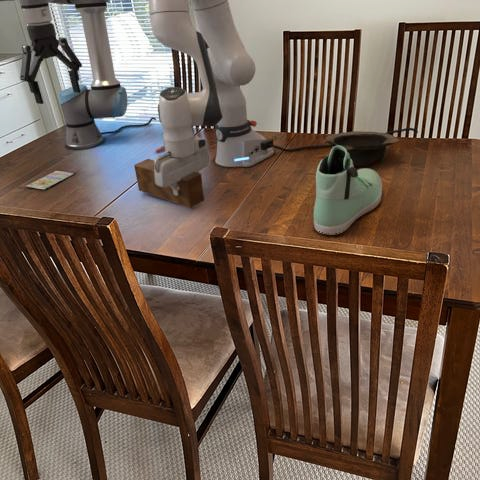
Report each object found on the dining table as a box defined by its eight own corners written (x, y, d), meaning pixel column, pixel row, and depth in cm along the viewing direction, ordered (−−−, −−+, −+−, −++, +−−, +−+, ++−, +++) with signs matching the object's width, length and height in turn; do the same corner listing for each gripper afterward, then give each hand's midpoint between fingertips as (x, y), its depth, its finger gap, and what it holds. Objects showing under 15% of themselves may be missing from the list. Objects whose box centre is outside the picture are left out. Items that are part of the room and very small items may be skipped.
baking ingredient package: (25, 185, 168) (56, 169, 179) (25, 186, 168) (56, 171, 180) (43, 188, 164) (74, 172, 176) (44, 190, 165) (74, 173, 176)
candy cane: (146, 151, 191) (146, 147, 190) (171, 139, 201) (171, 135, 200) (157, 153, 188) (157, 150, 187) (182, 141, 198) (182, 137, 197)
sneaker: (389, 187, 148) (396, 123, 138) (356, 242, 123) (361, 168, 112) (346, 181, 154) (350, 119, 144) (306, 232, 129) (307, 161, 118)
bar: (138, 190, 157) (134, 164, 152) (152, 183, 160) (147, 158, 156) (191, 208, 144) (187, 180, 139) (204, 200, 147) (201, 173, 143)
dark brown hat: (355, 177, 156) (355, 149, 151) (311, 159, 176) (310, 134, 172) (413, 158, 165) (414, 132, 160) (364, 143, 185) (364, 119, 180)
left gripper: (6, 31, 128) (30, 109, 139) (82, 17, 145) (98, 88, 156) (-8, 30, 132) (16, 106, 143) (68, 17, 149) (84, 86, 160)
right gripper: (161, 160, 130) (168, 205, 137) (210, 137, 144) (215, 180, 151) (145, 156, 134) (153, 200, 141) (195, 134, 147) (200, 176, 154)
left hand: (59, 97), depth 150 cm, fingers open, 13 cm apart
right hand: (185, 189), depth 146 cm, fingers closed on bar, 6 cm apart
